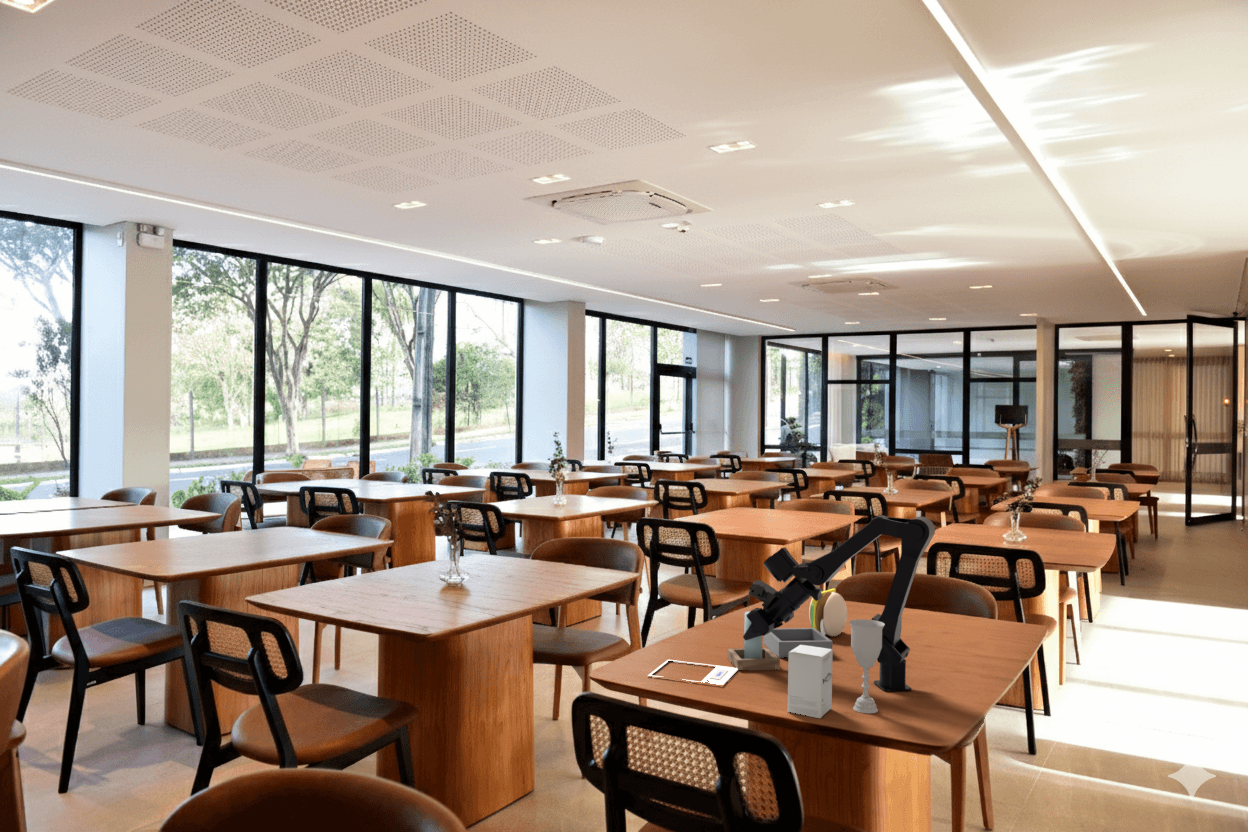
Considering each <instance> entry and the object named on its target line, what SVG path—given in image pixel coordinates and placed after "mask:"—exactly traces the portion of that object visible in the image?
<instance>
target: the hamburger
mask: <svg viewBox="0 0 1248 832" xmlns="http://www.w3.org/2000/svg"><path fill="white" fill-rule="evenodd" d="M836 590H837V589H836V588H830V589H827V590H822V592H821V593H822V598H821V599H819V600H818V601H815V600H814V598H813V597H811V600H810V603H809V608H808V617H809V623H810V628H815V629H816V630H818V631H819V632H821V633H822V634H823V635H825V636H829V637H833V636H834V637H837V636H838V635H840V634H841V632H842V633H843V631H844V629H845V627H846V624H847V619H848V607H847V604H846V601H845V599H844V598H843V596H842V594H839V593H838V592H837V591H836ZM834 637H833V638H834Z"/></svg>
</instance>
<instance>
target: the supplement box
mask: <svg viewBox="0 0 1248 832" xmlns="http://www.w3.org/2000/svg"><path fill="white" fill-rule="evenodd" d="M833 651H834V650H833V648H832V649H828V648H821V647H814V646H807V645H799V646H798V647H796V648H794V649H793V650H791V651H790V652H789V658H787V660H788V664H787V665H788V669H787V671H788V672H787V673H788V674H787V709H786V711H787V713H790V712H791V713H790V714H795V713H796V715H800V714H801V716H805V715H806V716H805V717H810V718H815V719H821V718H822V717H823V716H824V715H825V714H827V713H828V712H829V711H830V710H831V709H832V704H833V703H832V702H833V701H832V700H833V699H832V697H833Z"/></svg>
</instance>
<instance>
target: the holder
mask: <svg viewBox="0 0 1248 832" xmlns="http://www.w3.org/2000/svg"><path fill="white" fill-rule="evenodd" d="M726 650H727V654H726V655H727V658H728V659H729V660H730V661H731V662H732V664H733V665H734V666H735V667H736V668H737V669H738V670H749V671H780V670H781V667H780V665H781V660H780V659H781V658H778V657H777V656H776V655H775V654H774V653H773V652H772V651H771V650H770V649H769V648H768V647H762V658H758V659H744V647H743V648H742V647H741V648H740V647H739V648H727V649H726ZM728 659H727V660H728ZM729 660H728V661H729ZM730 661H729V662H730ZM731 662H730V663H731ZM732 664H731V665H732ZM733 665H732V666H733ZM734 666H733V667H734ZM774 669H775V670H774ZM776 669H778V670H776Z"/></svg>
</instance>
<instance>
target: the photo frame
mask: <svg viewBox="0 0 1248 832" xmlns="http://www.w3.org/2000/svg"><path fill="white" fill-rule="evenodd" d="M668 661H673V662H678V663H687V664H695V665H708V666H714V667H715V668H712V670H711V671H710V672H709V673H708V674H707V675H706V676H704V678H703V679H702V680H693V679H684V678H683V679H682V678H681V679H682V680H686V681H691V682H701V683H702V682H703V683H705V682H708V681H709V682H708V683H710V684H716V685H724V684H725V683H726V682H727V681H728V680H729V679H730V678H731V677H732V676H733V675H734V674H735V673H736V672H737V671H738V669H737V668H735V667H734V666H727V665H726V666H725V665H716V664H707V663H699V662H691V661H683V660H676V659H675V660H674V659H666V661H664V662H662V663H661V664H660V665H659V666H658V667H656V668H655V669H654V670H652V671H651V672H650V673H649V674H647V676H652V677H663V676H661V675H653V674H654V673H656V672H657V671H659V670H660V669H661V668H662V667H664V666H665V665H666V664H667V663H669V662H668ZM673 662H672V663H673ZM678 663H677V664H678ZM738 672H739V671H738ZM738 672H737V673H738ZM737 673H736V674H737ZM736 674H735V675H736ZM735 675H734V676H735ZM734 676H733V677H734ZM733 677H732V678H733ZM732 678H731V679H732ZM731 679H730V680H731ZM707 680H708V681H707ZM730 680H729V681H730ZM729 681H728V682H729Z"/></svg>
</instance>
